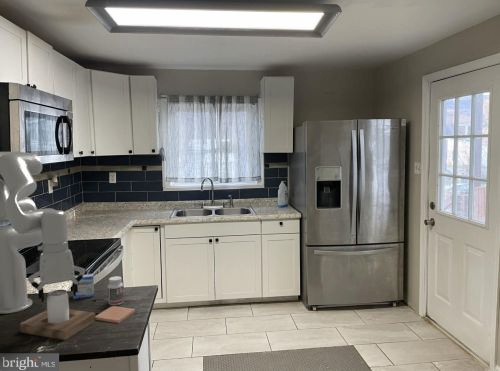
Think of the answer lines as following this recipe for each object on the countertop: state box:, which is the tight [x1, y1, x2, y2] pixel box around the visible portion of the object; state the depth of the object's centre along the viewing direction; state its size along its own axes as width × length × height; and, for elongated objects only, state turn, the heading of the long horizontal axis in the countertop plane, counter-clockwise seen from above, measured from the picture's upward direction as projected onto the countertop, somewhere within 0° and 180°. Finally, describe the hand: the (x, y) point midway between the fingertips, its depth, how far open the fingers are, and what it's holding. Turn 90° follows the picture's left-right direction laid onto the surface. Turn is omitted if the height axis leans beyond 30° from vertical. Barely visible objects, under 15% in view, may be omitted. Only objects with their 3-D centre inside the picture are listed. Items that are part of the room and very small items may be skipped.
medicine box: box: [72, 273, 95, 300], centre depth 156 cm, size 8×4×9 cm, turn 114°
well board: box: [19, 308, 96, 341], centre depth 130 cm, size 18×14×3 cm
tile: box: [95, 305, 136, 324], centre depth 138 cm, size 10×10×1 cm
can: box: [46, 288, 70, 325], centre depth 129 cm, size 6×6×12 cm
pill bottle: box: [107, 276, 125, 306], centre depth 149 cm, size 6×6×10 cm
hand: (58, 297), depth 128 cm, fingers open, 9 cm apart
